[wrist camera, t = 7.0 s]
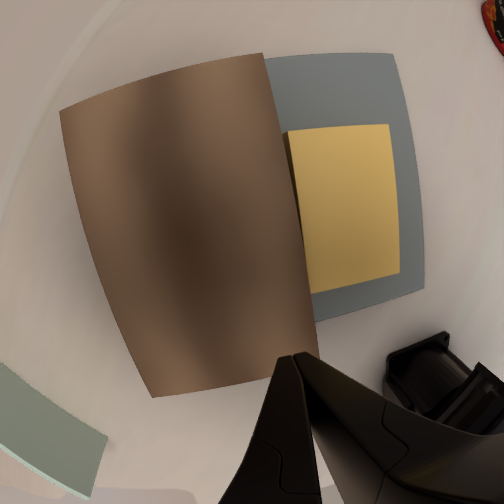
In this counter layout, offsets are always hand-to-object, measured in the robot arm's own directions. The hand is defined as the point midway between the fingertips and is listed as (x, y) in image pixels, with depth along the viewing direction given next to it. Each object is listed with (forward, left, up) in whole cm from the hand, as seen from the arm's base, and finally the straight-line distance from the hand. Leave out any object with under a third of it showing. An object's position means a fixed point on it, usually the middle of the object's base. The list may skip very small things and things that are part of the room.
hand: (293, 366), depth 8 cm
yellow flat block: (-6, -2, -11) cm, 12 cm away
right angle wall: (+25, +13, -11) cm, 30 cm away
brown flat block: (+3, -2, -11) cm, 12 cm away
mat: (-7, -3, -11) cm, 13 cm away
